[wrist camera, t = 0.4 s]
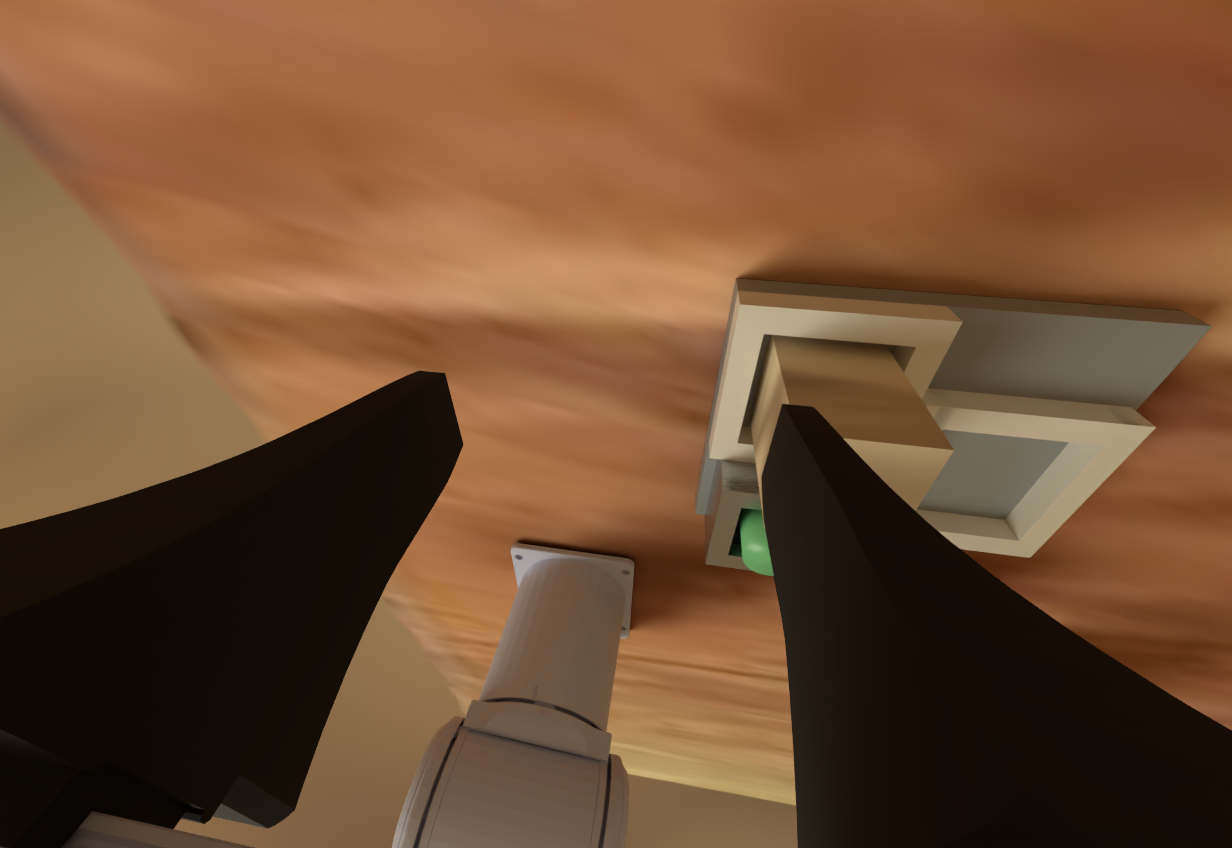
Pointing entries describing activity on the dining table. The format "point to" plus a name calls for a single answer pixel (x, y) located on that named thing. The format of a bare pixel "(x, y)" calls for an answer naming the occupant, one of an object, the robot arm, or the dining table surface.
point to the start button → (754, 542)
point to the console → (729, 511)
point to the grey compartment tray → (975, 392)
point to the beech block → (853, 408)
